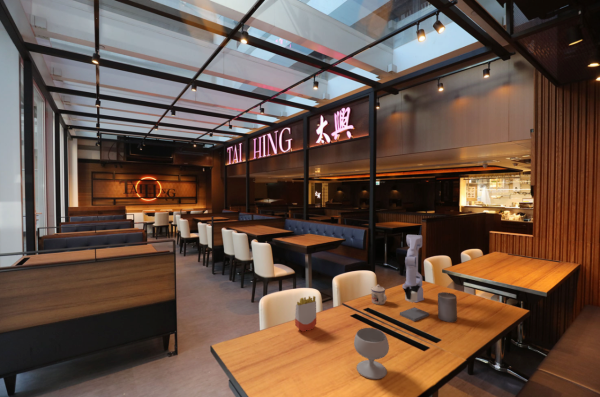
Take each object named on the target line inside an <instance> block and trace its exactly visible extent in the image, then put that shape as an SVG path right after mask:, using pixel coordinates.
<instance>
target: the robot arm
mask: <svg viewBox="0 0 600 397" xmlns="http://www.w3.org/2000/svg"><path fill="white" fill-rule="evenodd" d="M406 244H407V247H409V248H408V249H407V253H406V256H405V260H404V263H405V271H406V273H405V277H406V278H405V279H406V280H405V281H404V283H403V284H402V289H403V291H404V293H405V294H406V297H407V299H409V300H410V299H411V292H412V291H414V292H417V301H415V302H414V303H418V302H422V301H425V298H424V288H423V276H422V274H421V273H420V272H419V250H420V248H421V249H422V247H423V235H422V234H420V235H419V234H418V235H417V234H407V235H406ZM405 294H404V295H405Z"/></svg>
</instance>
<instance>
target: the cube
mask: <svg viewBox="0 0 600 397" xmlns="http://www.w3.org/2000/svg"><path fill="white" fill-rule="evenodd" d="M404 297H405V298H404V299H405V301H407V302H409V303H416V302H415V301H417V292H414V291H412V292H411V299H410V300H409V299H407V297H406V294H404Z"/></svg>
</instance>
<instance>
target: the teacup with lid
mask: <svg viewBox="0 0 600 397" xmlns="http://www.w3.org/2000/svg"><path fill="white" fill-rule="evenodd" d="M370 290H371V303H372V304H373V305H378V306H379V305H381V306H382V305H384V304H385V303H386V301H387V300H388V299H387V298H388V297H387V295H386V289H385V288H384V287H383V286H381V285H380V284H376V285H375V286H372V287H371V289H370Z"/></svg>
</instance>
